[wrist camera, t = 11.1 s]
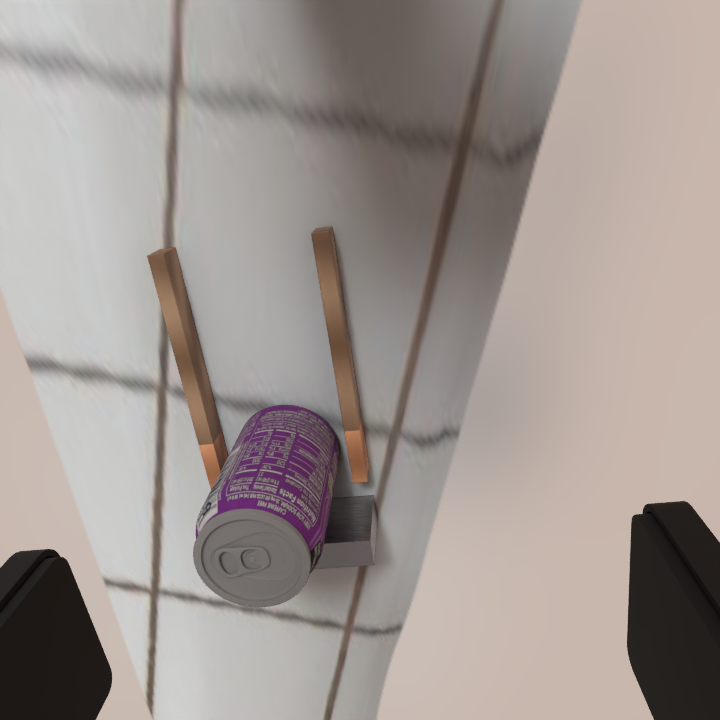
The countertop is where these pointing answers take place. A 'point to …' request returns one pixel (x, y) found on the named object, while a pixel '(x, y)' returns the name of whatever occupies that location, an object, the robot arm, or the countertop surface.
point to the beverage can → (268, 508)
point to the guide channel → (352, 514)
